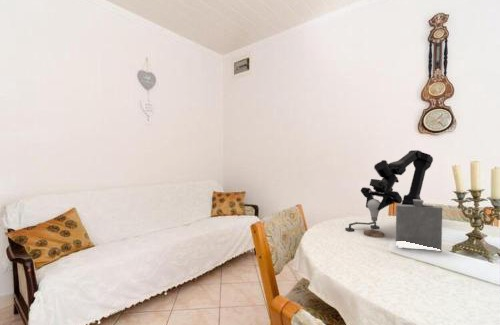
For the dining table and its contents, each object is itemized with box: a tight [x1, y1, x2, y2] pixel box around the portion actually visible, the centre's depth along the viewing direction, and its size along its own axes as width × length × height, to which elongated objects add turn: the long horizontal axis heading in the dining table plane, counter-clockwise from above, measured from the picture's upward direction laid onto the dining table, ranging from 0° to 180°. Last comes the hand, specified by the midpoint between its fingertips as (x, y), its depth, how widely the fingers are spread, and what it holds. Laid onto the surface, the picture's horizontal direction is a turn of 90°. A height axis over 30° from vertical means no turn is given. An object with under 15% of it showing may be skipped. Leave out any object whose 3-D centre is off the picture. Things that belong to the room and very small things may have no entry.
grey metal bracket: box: [344, 221, 381, 233], centre depth 127 cm, size 18×4×4 cm, turn 104°
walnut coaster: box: [363, 229, 385, 238], centre depth 119 cm, size 9×9×1 cm
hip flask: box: [395, 199, 443, 251], centre depth 102 cm, size 16×4×20 cm, turn 72°
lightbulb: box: [367, 198, 381, 223], centre depth 119 cm, size 6×6×11 cm
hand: (372, 208), depth 118 cm, fingers closed on lightbulb, 6 cm apart
